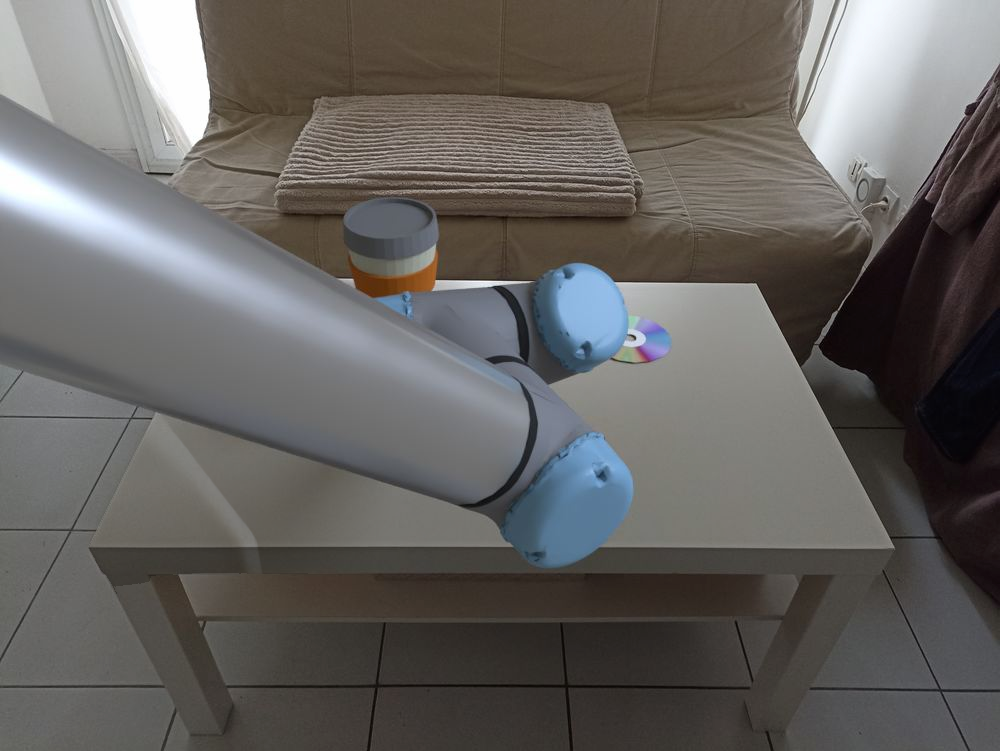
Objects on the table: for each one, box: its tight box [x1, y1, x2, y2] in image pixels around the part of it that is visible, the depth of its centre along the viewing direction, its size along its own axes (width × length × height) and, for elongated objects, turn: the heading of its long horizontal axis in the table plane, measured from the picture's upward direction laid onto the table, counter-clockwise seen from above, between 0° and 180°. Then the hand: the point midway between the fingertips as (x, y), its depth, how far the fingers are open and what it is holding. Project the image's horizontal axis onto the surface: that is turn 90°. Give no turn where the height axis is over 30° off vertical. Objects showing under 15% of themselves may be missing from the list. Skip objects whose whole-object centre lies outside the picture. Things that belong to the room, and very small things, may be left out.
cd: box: [611, 314, 672, 364], centre depth 103 cm, size 11×11×1 cm
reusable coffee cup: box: [342, 196, 440, 298], centre depth 102 cm, size 13×13×15 cm
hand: (392, 412), depth 85 cm, fingers closed
